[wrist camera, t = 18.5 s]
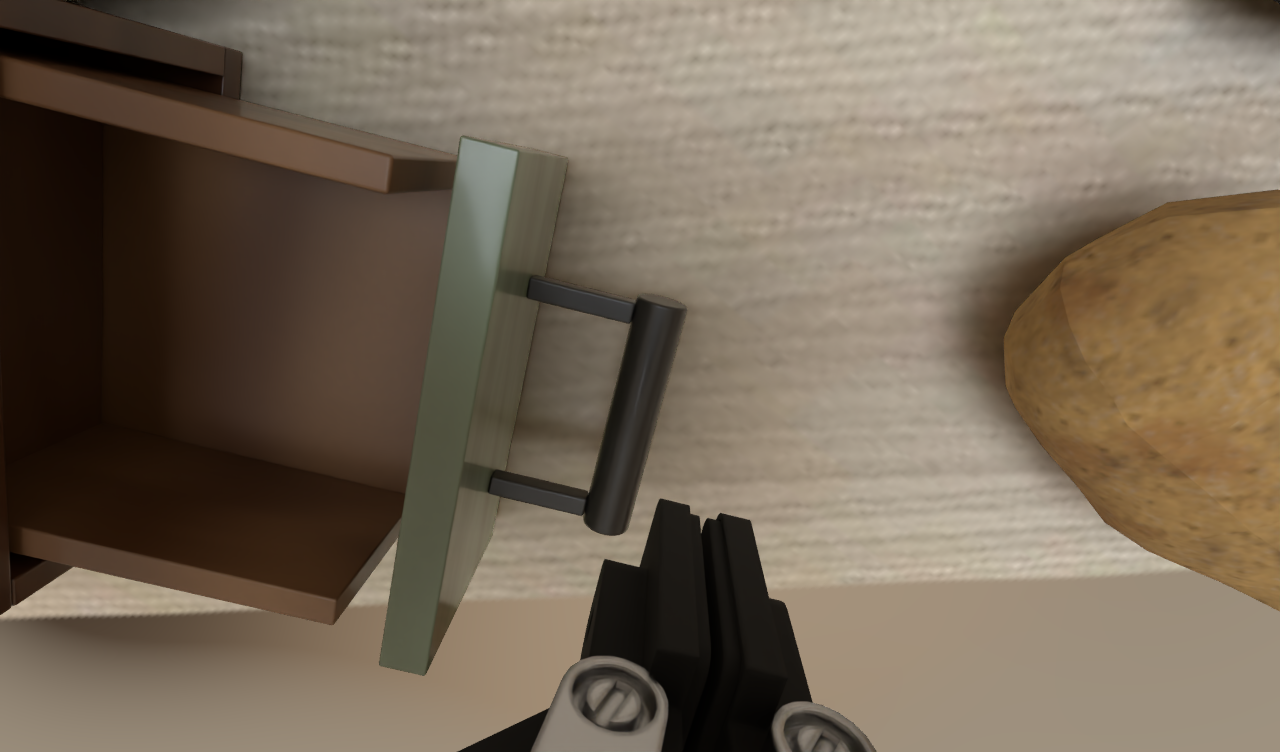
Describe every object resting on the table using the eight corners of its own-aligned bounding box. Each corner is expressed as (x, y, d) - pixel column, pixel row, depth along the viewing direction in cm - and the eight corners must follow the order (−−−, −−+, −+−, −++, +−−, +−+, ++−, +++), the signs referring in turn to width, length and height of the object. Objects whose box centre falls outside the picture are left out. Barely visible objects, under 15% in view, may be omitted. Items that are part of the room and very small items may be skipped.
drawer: (710, 194, 20) (734, 205, 13) (612, 563, 23) (591, 714, 17) (107, 39, 19) (-186, -31, 12) (105, 445, 23) (-119, 554, 16)
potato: (1234, 508, 24) (1267, 721, 19) (942, 272, 23) (899, 433, 18) (1669, 390, 17) (1910, 690, 12) (1265, 31, 16) (1341, 194, 11)
